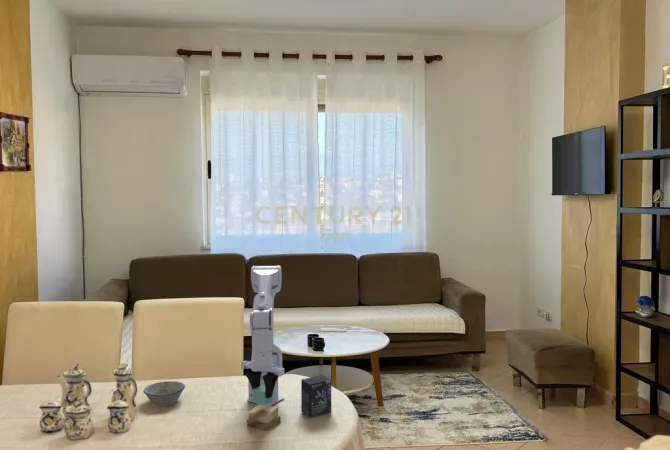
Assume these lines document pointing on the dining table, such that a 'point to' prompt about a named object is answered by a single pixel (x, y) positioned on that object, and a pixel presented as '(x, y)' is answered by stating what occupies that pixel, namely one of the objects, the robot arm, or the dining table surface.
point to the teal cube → (260, 396)
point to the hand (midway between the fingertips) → (262, 395)
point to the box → (316, 396)
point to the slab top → (263, 413)
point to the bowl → (164, 392)
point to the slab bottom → (264, 424)
